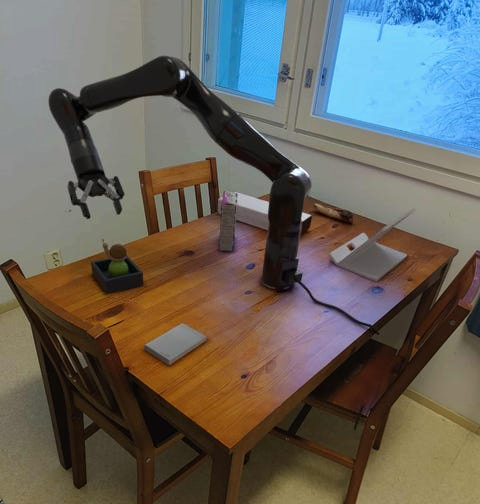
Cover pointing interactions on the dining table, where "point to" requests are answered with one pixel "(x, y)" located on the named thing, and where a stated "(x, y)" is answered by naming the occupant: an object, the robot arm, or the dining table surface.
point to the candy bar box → (228, 221)
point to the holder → (116, 283)
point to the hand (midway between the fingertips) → (104, 215)
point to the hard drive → (175, 343)
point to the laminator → (257, 212)
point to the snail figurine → (116, 259)
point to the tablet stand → (369, 254)
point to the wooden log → (335, 213)
